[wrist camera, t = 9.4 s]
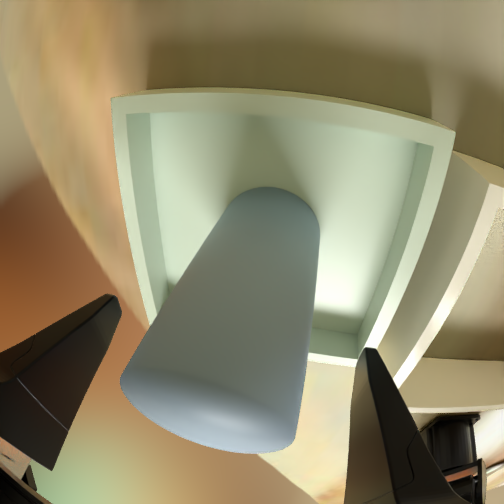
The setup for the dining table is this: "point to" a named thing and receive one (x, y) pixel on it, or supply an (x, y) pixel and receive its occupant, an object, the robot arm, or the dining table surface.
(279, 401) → the cylinder
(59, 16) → the dining table surface
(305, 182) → the tray
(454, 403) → the cream square bin
